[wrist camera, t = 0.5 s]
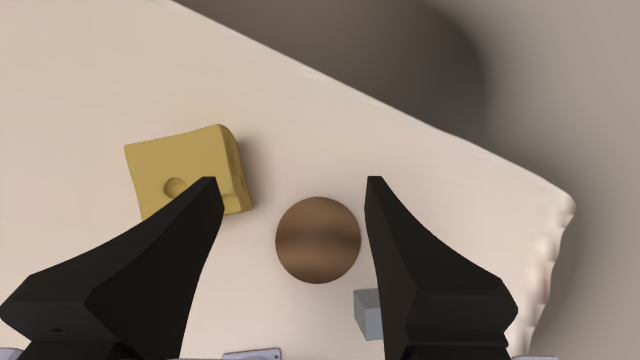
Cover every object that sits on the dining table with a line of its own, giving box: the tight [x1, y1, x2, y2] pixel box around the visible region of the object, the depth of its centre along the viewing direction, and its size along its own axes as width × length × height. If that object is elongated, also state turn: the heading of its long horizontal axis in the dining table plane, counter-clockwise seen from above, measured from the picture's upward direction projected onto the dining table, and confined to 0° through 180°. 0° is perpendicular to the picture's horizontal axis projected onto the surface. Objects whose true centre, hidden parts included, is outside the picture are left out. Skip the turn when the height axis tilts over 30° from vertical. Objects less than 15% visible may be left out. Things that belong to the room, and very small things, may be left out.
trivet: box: [275, 197, 361, 284], centre depth 39 cm, size 12×12×2 cm
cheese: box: [124, 124, 253, 221], centre depth 34 cm, size 10×11×10 cm
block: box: [354, 288, 383, 341], centre depth 38 cm, size 4×4×6 cm
